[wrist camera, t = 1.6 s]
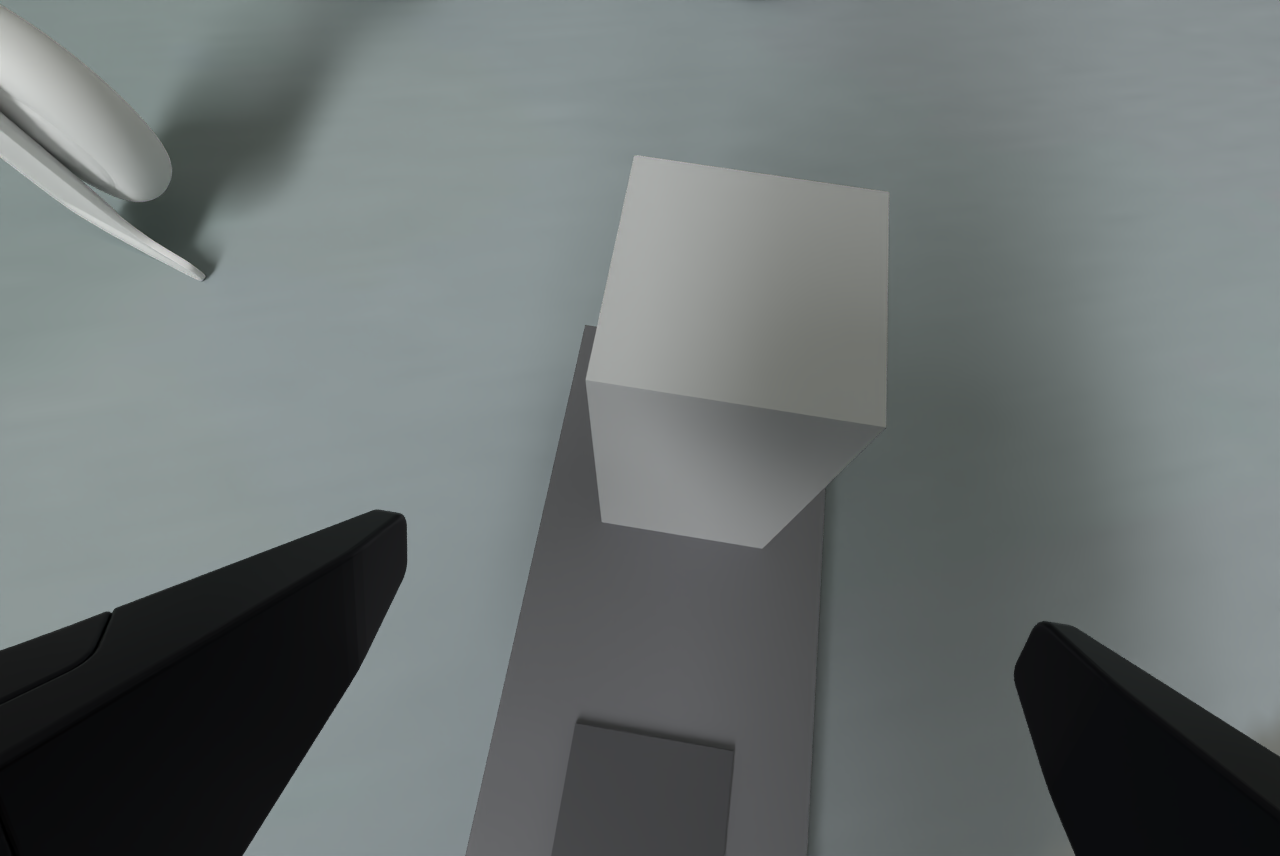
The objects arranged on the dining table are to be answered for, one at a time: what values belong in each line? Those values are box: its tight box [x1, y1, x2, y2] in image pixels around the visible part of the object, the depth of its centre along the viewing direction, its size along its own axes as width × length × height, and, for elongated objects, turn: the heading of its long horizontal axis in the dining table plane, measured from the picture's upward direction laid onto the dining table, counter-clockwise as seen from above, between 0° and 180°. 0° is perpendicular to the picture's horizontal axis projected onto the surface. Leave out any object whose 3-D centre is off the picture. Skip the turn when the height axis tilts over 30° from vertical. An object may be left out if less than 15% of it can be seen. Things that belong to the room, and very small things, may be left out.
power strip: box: [465, 325, 826, 856], centre depth 17 cm, size 24×8×4 cm, turn 171°
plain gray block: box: [586, 155, 889, 549], centre depth 16 cm, size 5×5×12 cm
